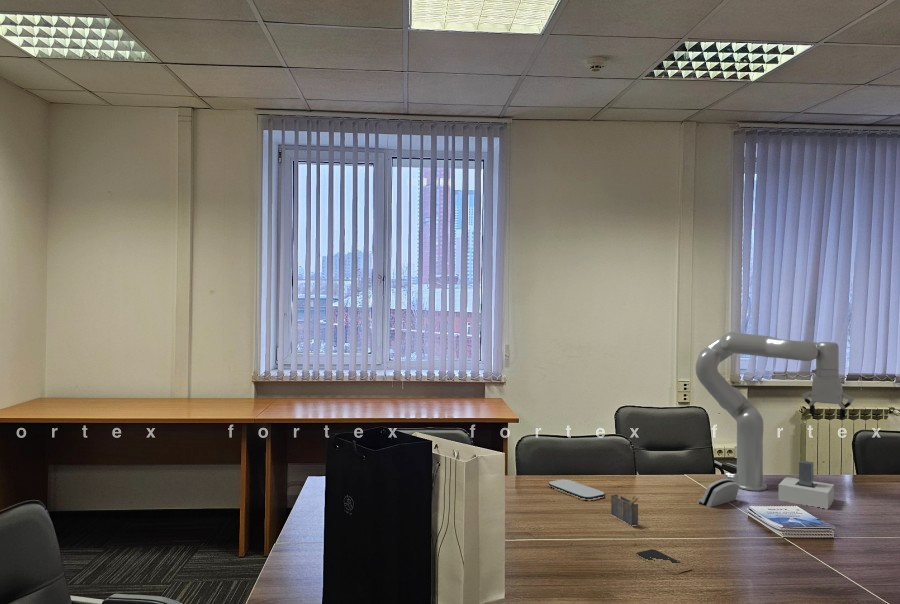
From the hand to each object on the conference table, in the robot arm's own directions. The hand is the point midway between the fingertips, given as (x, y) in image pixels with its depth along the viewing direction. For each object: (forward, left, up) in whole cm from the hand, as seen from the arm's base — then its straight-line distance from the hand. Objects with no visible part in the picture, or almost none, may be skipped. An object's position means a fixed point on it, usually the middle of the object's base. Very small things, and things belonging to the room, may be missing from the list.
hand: (827, 417), depth 236 cm
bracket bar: (-5, -13, -30) cm, 33 cm away
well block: (-5, -13, -30) cm, 33 cm away
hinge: (-29, -38, -31) cm, 57 cm away
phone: (-25, -105, -31) cm, 112 cm away
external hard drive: (-76, -61, -31) cm, 103 cm away
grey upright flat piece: (-48, -80, -31) cm, 98 cm away
